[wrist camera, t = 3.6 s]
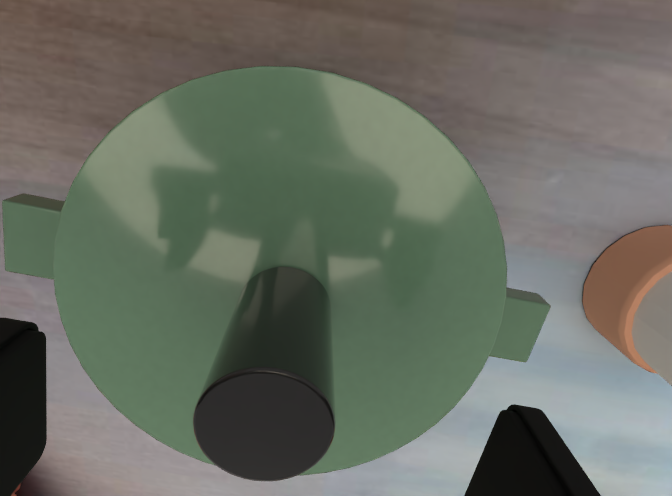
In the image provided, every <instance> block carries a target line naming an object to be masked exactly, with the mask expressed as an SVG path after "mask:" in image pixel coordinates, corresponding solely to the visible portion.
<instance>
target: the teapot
mask: <svg viewBox="0 0 672 496" xmlns="http://www.w3.org/2000/svg"><path fill="white" fill-rule="evenodd" d="M20 486H21V483H20V485H19V486H18V487H17V488H16V490H15V491H14V492H13V494H12V495H11V496H17V495H16V494H15V492H16V491H17V490H19V488H20Z"/></svg>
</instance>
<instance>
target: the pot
mask: <svg viewBox="0 0 672 496" xmlns="http://www.w3.org/2000/svg"><path fill="white" fill-rule="evenodd" d="M64 202H65V201H60V200H54V199H49V198H44V197H39V196H34V195H29V194H24V193H23V194H20V195H17V196H14V197H11V198H8V199H5V200H3V201H2V209H3V232H4V254H5V270H6V271H9V272H14V273H20V274H26V275H31V276H37V277H43V278H48V279H54V273H53V258H54V245H55V236H56V231H57V227H58V223H59V218H60V214H61V210H62V207H63V205H64ZM549 310H550V305H549V304H548V303H547V302H546V301H545V300H544V299H543V298H542V297H541V296H540V295H539V294H537V293H532V292H527V291H522V290H516V289H511V288H506V299H505V305H504V311H503V317H502V322H501V325H500V328H499V331H498V334H497V337H496V340H495V344H494V346H493V348H492V350H491V352H490V355H489V356H492V357H498V358H504V359H509V360H515V361H521V362H527V360H528V358H529V356H530V353H531V351H532V349H533V346H534V344H535V342H536V339H537V337H538V335H539V333H540V330H541V328H542V326H543V323H544V321H545V319H546V316H547V314H548V312H549Z"/></svg>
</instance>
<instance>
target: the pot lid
mask: <svg viewBox="0 0 672 496" xmlns="http://www.w3.org/2000/svg"><path fill="white" fill-rule="evenodd" d="M53 273H54V286H55V295H56V300H57V304H58V308H59V313H60V317H61V321H62V324H63V326H64V329H65V331H66V334H67V337H68V339H69V342H70V345H71V347H72V348H73V350H74V352H75V354H76V356H77V358H78V359H79V361H80V363H81V365H82V367H83V369H84V370H85V371H86V373H87V374H88V376H89V377H90V378H91V380H92V381H93V382H94V384H95V385H96V387H97V388H98V389H99V391H100V392H101V393H102V394H103V395H104V396H105V397H106V398H107V399H108V400H109V401H110V402H111V404H112V405H113V406H114V407H115V408H116V409H117V410H118V411H120V412H121V413H122V414H123V415H124V416H125V417H127V418H128V419H129V420H130V421H131V422H132V423H133V424H135V425H136V426H137V427H139V428H140V429H142V430H143V431H145V432H146V433H148V434H149V435H150V436H152V437H153V438H155V439H156V440H158V441H160V442H162V443H164V444H165V445H167V446H169V447H171V448H173V449H175V450H177V451H178V452H181V453H183V454H186V455H188V456H190V457H193V458H195V459H198V460H200V461H203V462H206V463H209V464H213V465H216V466H218V467H219V468H221V469H222V470H224V471H226V472H228V473H230V474H232V475H235V476H237V477H241V478H244V479H249V480H254V481H277V480H283V479H288V478H291V477H294V476H297V475H310V474H319V473H327V472H332V471H336V470H341V469H346V468H350V467H353V466H356V465H360V464H363V463H366V462H369V461H372V460H375V459H377V458H379V457H381V456H384V455H386V454H388V453H390V452H393V451H395V450H397V449H399V448H400V447H402V446H404V445H405V444H407V443H409V442H411V441H412V440H414V439H416V438H417V437H419V436H420V435H421V434H423V433H424V432H426V431H427V430H428V429H430V428H431V427H432V426H434V425H435V424H436V423H437V422H439V421H440V420H441V419H442V418H443V417H444V416H445V415H446V414H447V413H448V412H449V411H450V410H451V409H452V408H454V406H455V405H456V404H457V403H458V402H459V401H460V399H461V398H462V397H463V396H464V395H465V393H466V392H467V391H468V390H469V389H470V387H471V386H472V384H473V383H474V381H475V380H476V378H477V376H478V375H479V373H480V372H481V370H482V369H483V367H484V365H485V363H486V361H487V359H488V357H489V355H490V352H491V350H492V348H493V346H494V344H495V340H496V337H497V334H498V331H499V328H500V325H501V322H502V317H503V311H504V305H505V299H506V284H507V264H506V256H505V247H504V240H503V236H502V233H501V229H500V225H499V221H498V218H497V214H496V212H495V209H494V207H493V205H492V202H491V200H490V198H489V196H488V193H487V191H486V189H485V187H484V185H483V183H482V182H481V180H480V179H479V177H478V175H477V174H476V172H475V171H474V169H473V167H472V166H471V164H470V162H469V161H468V160H467V159H466V158H465V156H464V155H463V154H462V153H461V152H460V150H459V149H458V148H457V147H456V146H455V144H454V143H453V142H452V141H451V140H450V139H449V137H447V136H446V135H445V134H444V133H443V132H442V131H441V130H440V129H438V128H437V127H436V126H435V125H434V124H433V123H432V122H431V121H429V120H428V119H427V118H426V117H425V116H424V115H422V114H421V113H419V112H418V111H416V110H414V109H413V108H411V107H410V106H408V105H407V104H405V103H404V102H402V101H401V100H399V99H398V98H396V97H394V96H392V95H390V94H388V93H386V92H384V91H382V90H379V89H377V88H375V87H373V86H371V85H369V84H367V83H364V82H361V81H358V80H355V79H351V78H348V77H345V76H342V75H339V74H335V73H332V72H326V71H320V70H314V69H308V68H302V67H287V66H257V67H248V68H240V69H232V70H225V71H221V72H218V73H214V74H210V75H207V76H203V77H199V78H196V79H192V80H190V81H188V82H185V83H183V84H181V85H178V86H176V87H174V88H172V89H169V90H167V91H165V92H162V93H161V94H159V95H157V96H156V97H154V98H153V99H151V100H149V101H148V102H146V103H145V104H143V105H141V106H140V107H138V108H137V109H135V110H133V111H132V112H131V113H130V114H129V115H128V116H126V117H125V118H124V119H123V120H122V121H121V122H120V123H118V124H117V125H116V126H115V127H114V128H113V129H111V130H110V131H109V132H108V133H107V135H106V136H105V137H104V138H103V139H102V140H101V142H100V143H99V144H98V145H97V146H96V148H95V149H94V150H93V151H92V152H91V153H90V155H89V156H88V158H87V159H86V161H85V162H84V164H83V166H82V167H81V169H80V171H79V172H78V174H77V176H76V177H75V179H74V181H73V183H72V185H71V188H70V190H69V193H68V195H67V197H66V200H65V202H64V205H63V207H62V210H61V214H60V218H59V223H58V227H57V231H56V236H55V245H54V258H53Z"/></svg>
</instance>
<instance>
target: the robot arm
mask: <svg viewBox="0 0 672 496" xmlns="http://www.w3.org/2000/svg"><path fill="white" fill-rule="evenodd" d="M46 439H47V438H46V336H45V334H44V333H43V332H39V330H38V327H37V325H36V324H35V323H32V322H26V321H20V320H14V319H9V318H0V496H11V495H12V494H13V492H14V491H15V490H16V488H17V487H18V486H19V485H20V483H21V482H22V481H23V480H24V478H25V477H26V476H27V474H28V473H29V472H30V471H31V469H32V468H33V467H34V465H35V464H36V463H37V462H38V460H39V459H40V457H41V455H42V453H43V451H44V448H45V445H46ZM465 496H601V495H600V494H599V492H598V491H597V490H596V488H595V487H594V485H593V484H592V482H591V481H590V479H589V478H588V476H587V475H586V474H585V472H584V471H583V469H582V468H581V466H580V465H579V463H578V462H577V460H576V459H575V457H574V456H573V455H572V453H571V452H570V450H569V449H568V447H567V446H566V444H565V443H564V441H563V440H562V438H561V437H560V436H559V434H558V433H557V431H556V430H555V428H554V427H553V425H552V424H551V422H550V421H549V419H548V418H547V417H546V415H545V414H544V413H543V412H542V410H540V409H537V408H531V407H526V406H520V405H511V406H509V407H508V409H507V410H502V411H501V412H500V414H499V415H498V418H497V420H496V422H495V425H494V427H493V429H492V432H491V434H490V437H489V439H488V441H487V444H486V446H485V448H484V451H483V453H482V455H481V458H480V460H479V463H478V465H477V467H476V470H475V472H474V474H473V477H472V479H471V481H470V484H469V486H468V488H467V491H466V493H465Z"/></svg>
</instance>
